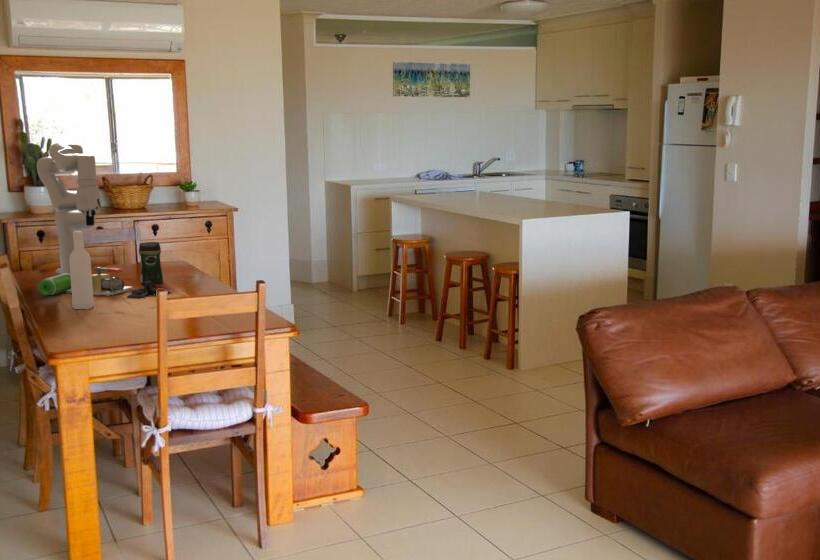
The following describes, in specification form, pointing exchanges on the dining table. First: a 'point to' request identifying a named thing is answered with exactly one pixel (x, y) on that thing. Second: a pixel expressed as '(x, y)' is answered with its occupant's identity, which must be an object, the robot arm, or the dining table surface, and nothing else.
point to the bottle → (81, 274)
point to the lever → (114, 270)
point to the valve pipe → (106, 285)
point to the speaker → (55, 284)
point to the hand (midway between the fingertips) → (90, 225)
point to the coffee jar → (150, 262)
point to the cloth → (145, 291)
